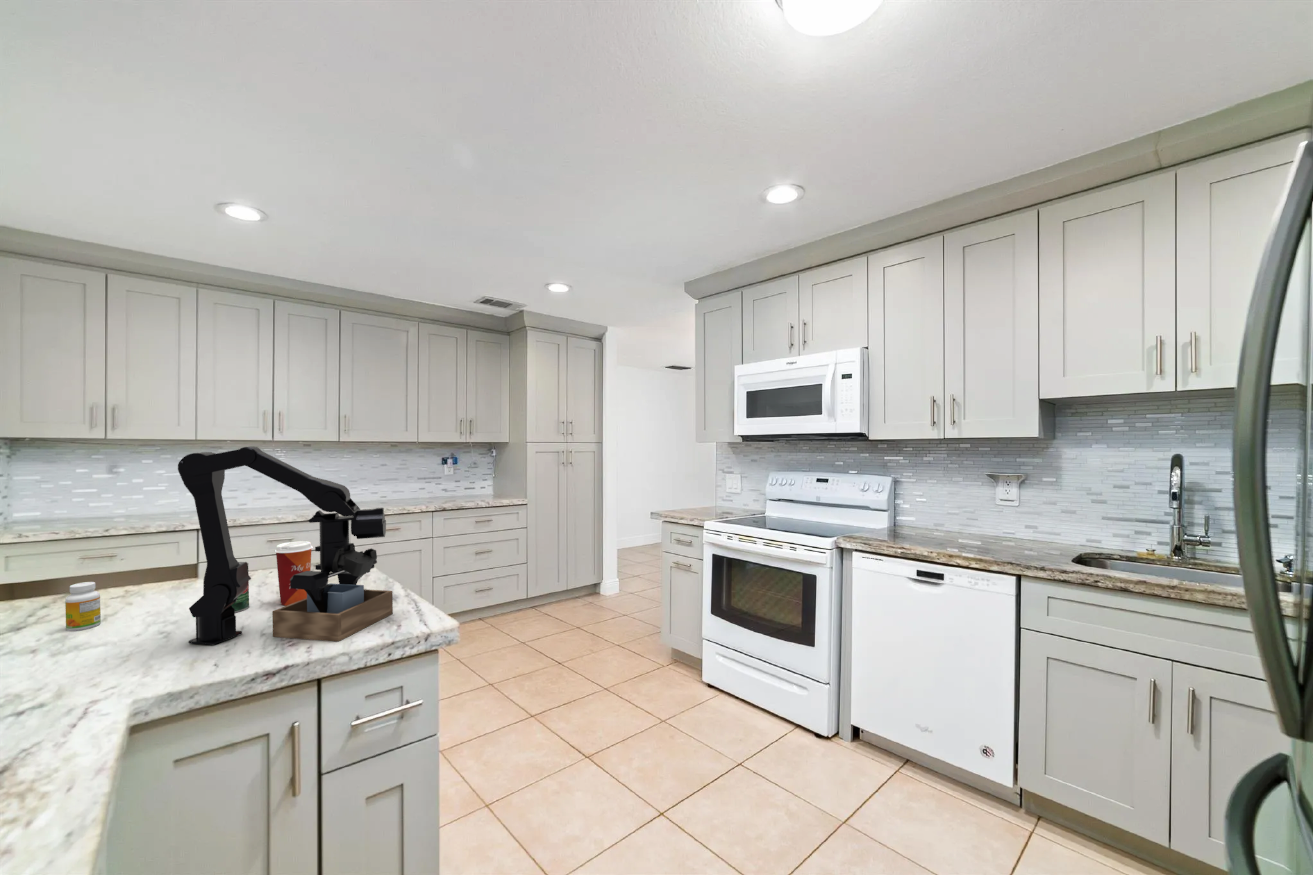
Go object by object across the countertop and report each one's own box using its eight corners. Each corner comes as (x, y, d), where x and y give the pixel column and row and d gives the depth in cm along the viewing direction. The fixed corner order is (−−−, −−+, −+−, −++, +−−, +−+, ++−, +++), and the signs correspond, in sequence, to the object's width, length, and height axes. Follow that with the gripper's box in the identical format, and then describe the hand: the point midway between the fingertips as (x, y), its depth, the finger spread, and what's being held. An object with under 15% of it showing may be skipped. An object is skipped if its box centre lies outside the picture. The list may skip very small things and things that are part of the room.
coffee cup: (299, 607, 134) (298, 547, 133) (267, 607, 134) (266, 547, 134) (321, 596, 142) (320, 540, 142) (290, 596, 142) (289, 540, 142)
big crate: (272, 636, 115) (272, 611, 114) (334, 610, 131) (333, 587, 131) (338, 641, 112) (338, 615, 112) (392, 613, 128) (392, 590, 128)
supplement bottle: (61, 629, 120) (60, 585, 120) (95, 621, 125) (94, 579, 125) (71, 633, 118) (69, 589, 117) (104, 625, 122) (103, 582, 122)
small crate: (307, 618, 119) (306, 591, 119) (330, 608, 125) (329, 583, 125) (342, 620, 117) (342, 593, 117) (364, 611, 124) (363, 585, 124)
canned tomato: (214, 607, 134) (213, 563, 134) (253, 603, 137) (252, 560, 137) (203, 617, 127) (202, 571, 127) (244, 612, 130) (243, 567, 130)
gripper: (334, 551, 111) (335, 626, 111) (393, 533, 129) (394, 598, 129) (287, 549, 113) (288, 623, 113) (353, 532, 131) (354, 596, 131)
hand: (335, 609), depth 121 cm, fingers closed on small crate, 6 cm apart
